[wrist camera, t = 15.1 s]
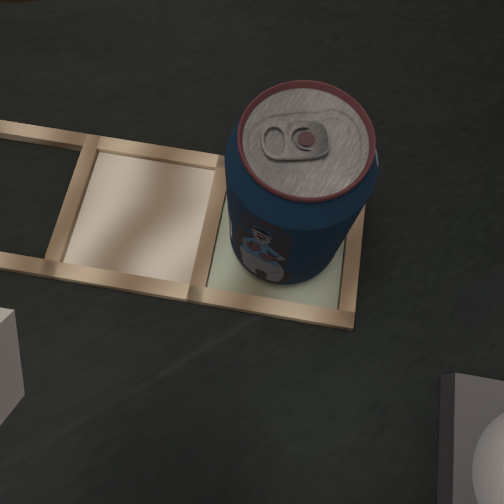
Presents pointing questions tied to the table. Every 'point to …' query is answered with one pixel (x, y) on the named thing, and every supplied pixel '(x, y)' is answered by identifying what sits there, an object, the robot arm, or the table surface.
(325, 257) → the soda can
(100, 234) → the tan flat wooden frame
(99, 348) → the table surface
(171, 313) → the table surface
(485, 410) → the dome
